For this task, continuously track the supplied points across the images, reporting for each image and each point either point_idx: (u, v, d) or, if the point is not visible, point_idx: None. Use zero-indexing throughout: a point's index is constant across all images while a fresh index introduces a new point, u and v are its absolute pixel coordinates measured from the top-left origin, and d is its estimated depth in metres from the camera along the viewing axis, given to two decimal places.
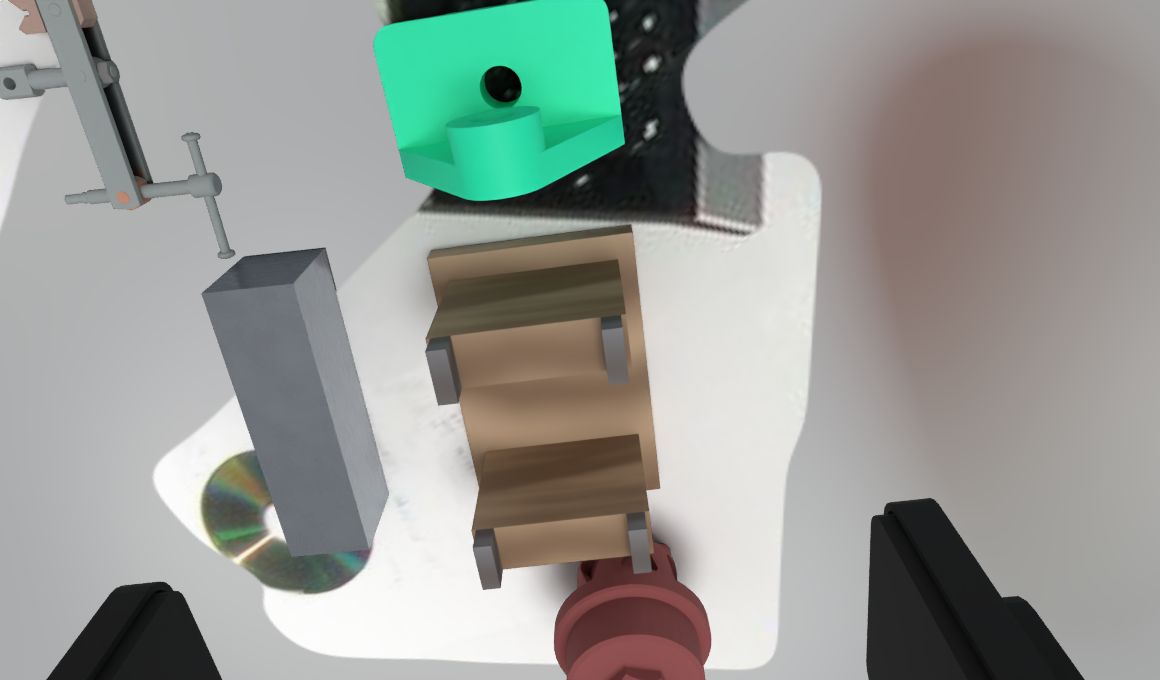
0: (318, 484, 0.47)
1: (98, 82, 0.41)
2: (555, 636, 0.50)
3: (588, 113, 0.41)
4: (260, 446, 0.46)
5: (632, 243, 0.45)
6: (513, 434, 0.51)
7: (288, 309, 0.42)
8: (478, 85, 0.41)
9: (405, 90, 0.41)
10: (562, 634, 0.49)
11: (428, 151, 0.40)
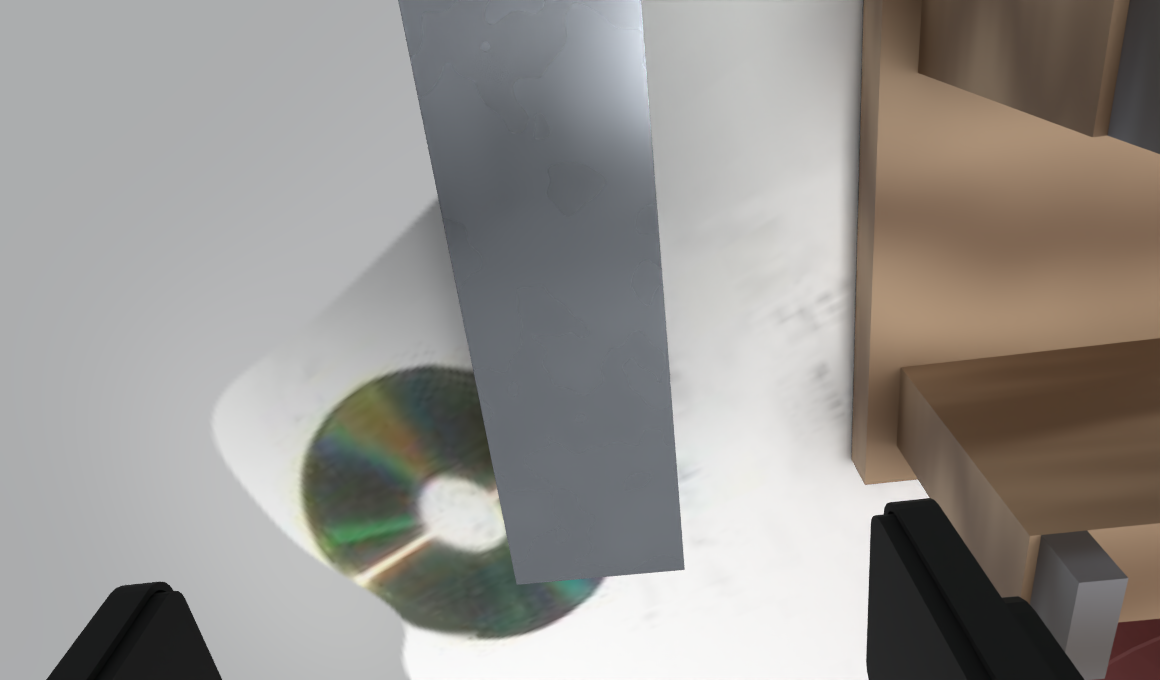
0: (601, 426, 0.21)
1: None
2: None
3: None
4: (482, 336, 0.20)
5: None
6: (968, 330, 0.24)
7: None
8: None
9: None
10: None
11: None
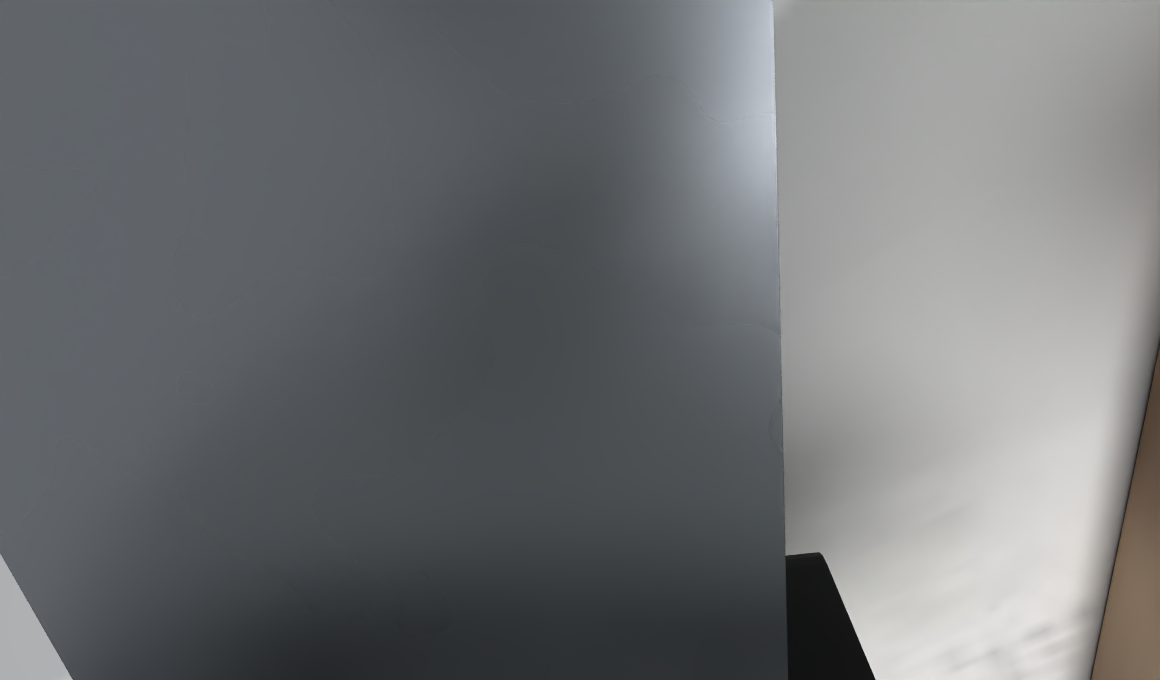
0: None
1: None
2: None
3: None
4: None
5: None
6: None
7: (634, 35, 0.04)
8: None
9: None
10: None
11: None
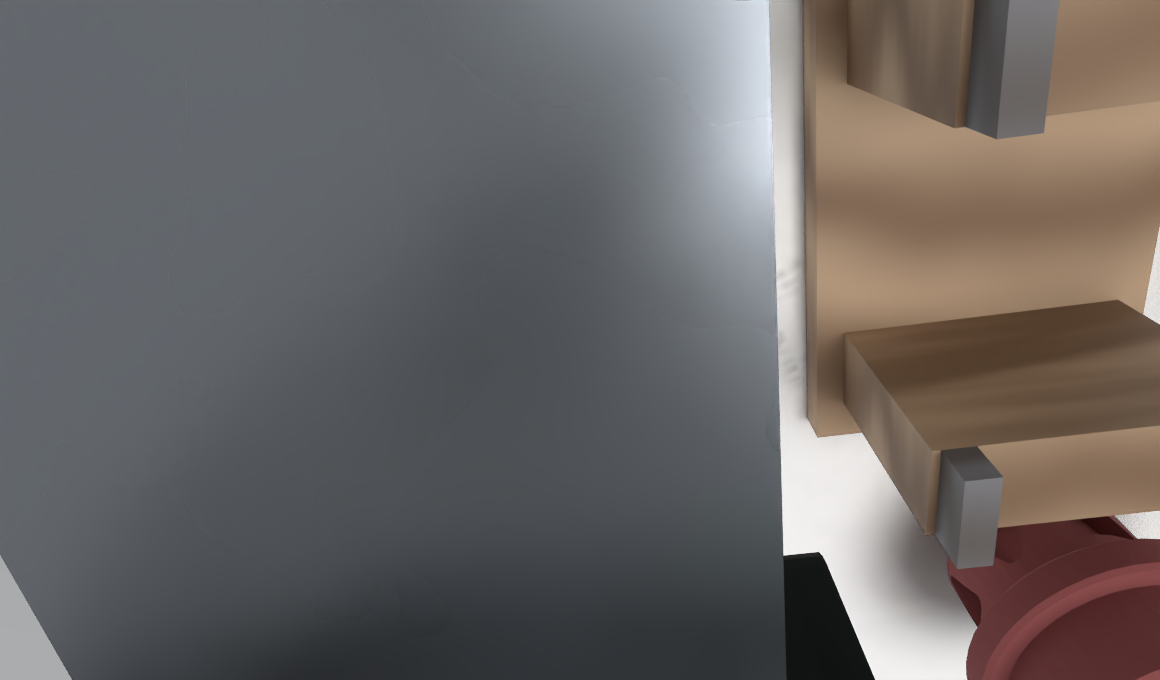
0: None
1: None
2: (991, 657, 0.28)
3: None
4: None
5: None
6: (899, 301, 0.29)
7: (630, 39, 0.04)
8: None
9: None
10: (1009, 654, 0.27)
11: None
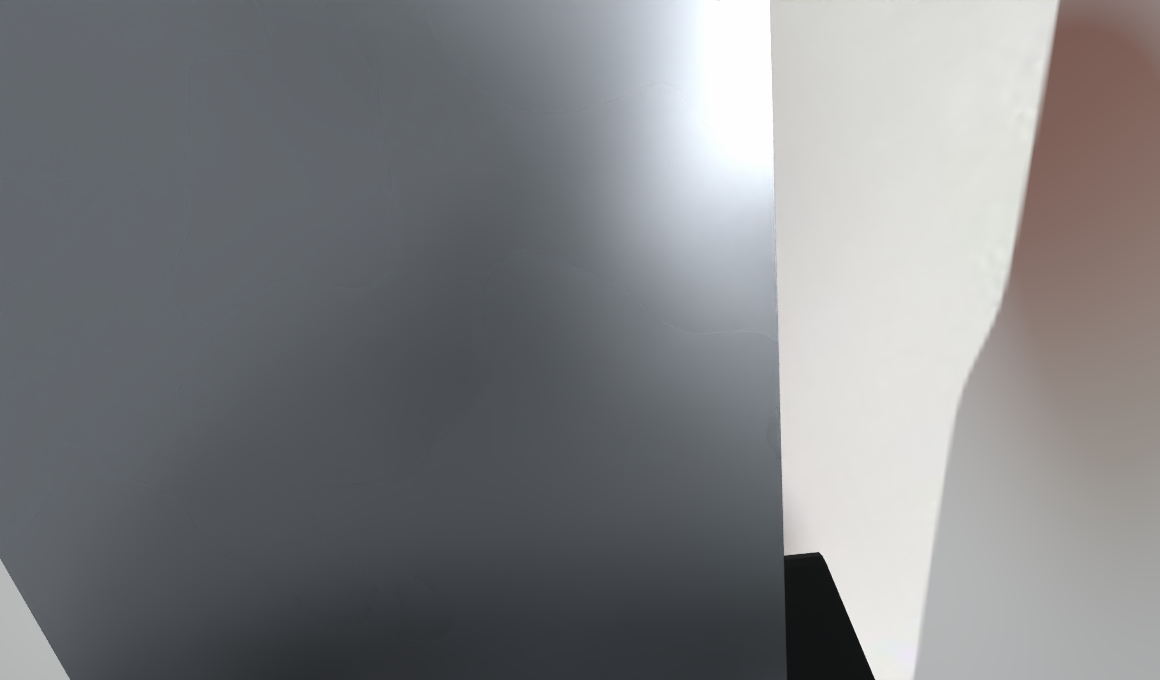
0: None
1: None
2: None
3: None
4: None
5: None
6: None
7: (632, 44, 0.04)
8: None
9: None
10: None
11: None
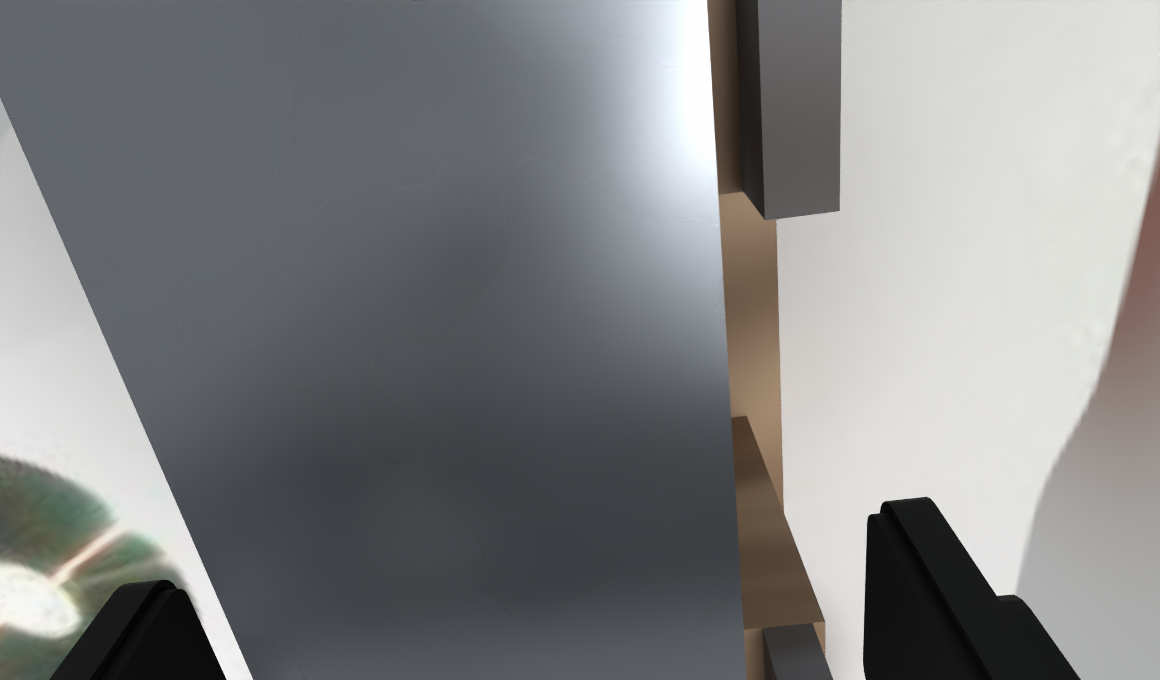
0: None
1: None
2: None
3: None
4: None
5: None
6: None
7: (609, 6, 0.05)
8: None
9: None
10: None
11: None
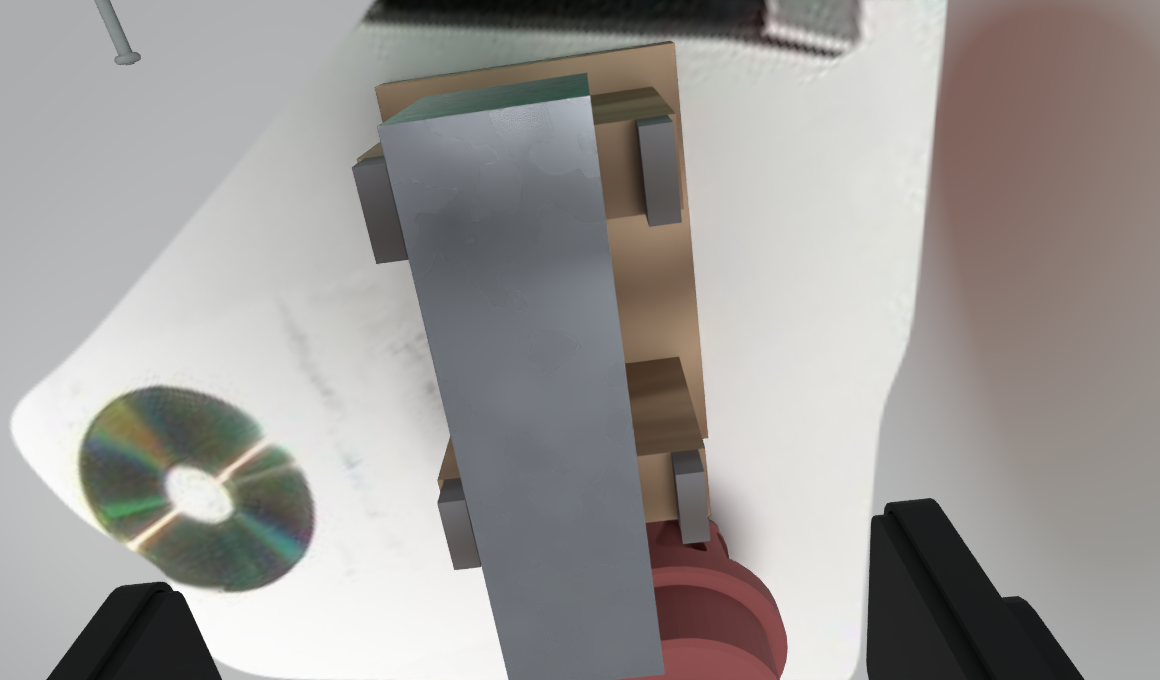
0: (583, 550, 0.23)
1: None
2: None
3: None
4: (474, 475, 0.22)
5: (674, 60, 0.31)
6: None
7: (570, 161, 0.19)
8: None
9: None
10: None
11: None
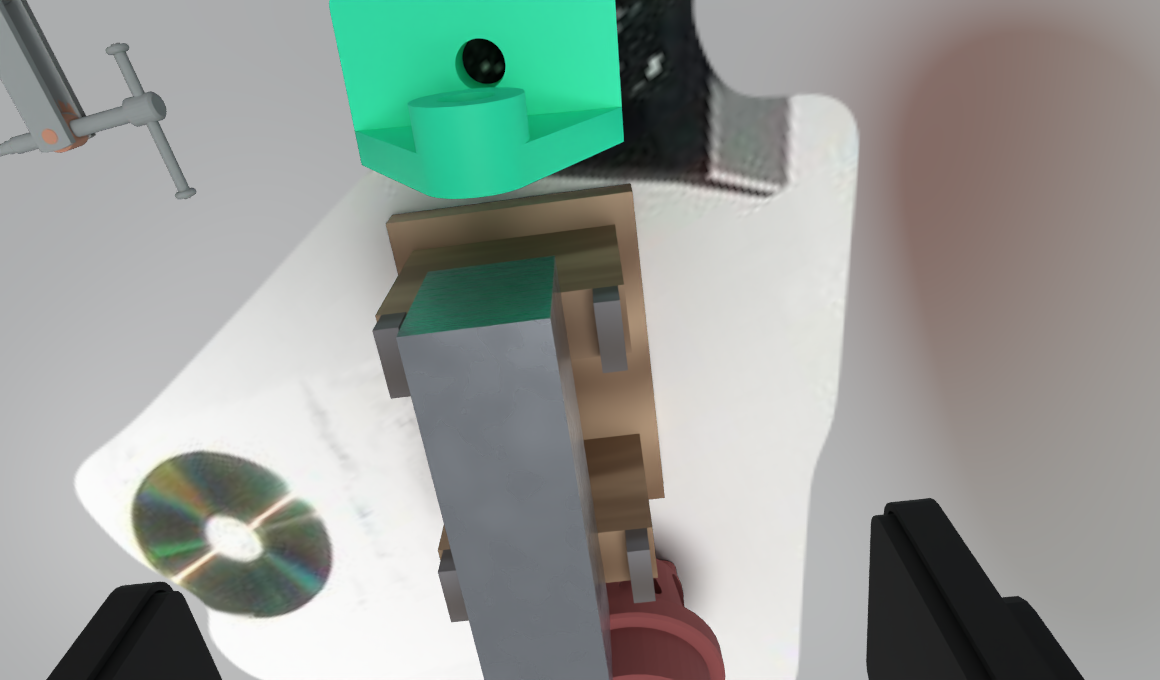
0: (549, 623, 0.30)
1: None
2: None
3: (583, 102, 0.35)
4: (466, 570, 0.29)
5: (632, 205, 0.38)
6: None
7: (536, 360, 0.26)
8: (453, 60, 0.34)
9: (365, 60, 0.34)
10: None
11: (388, 135, 0.33)
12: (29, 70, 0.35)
